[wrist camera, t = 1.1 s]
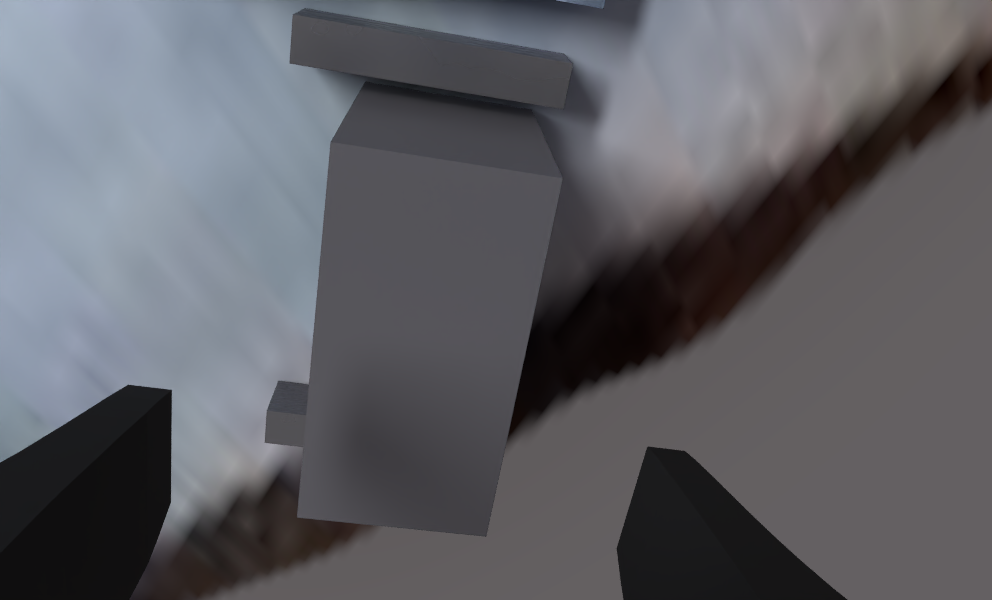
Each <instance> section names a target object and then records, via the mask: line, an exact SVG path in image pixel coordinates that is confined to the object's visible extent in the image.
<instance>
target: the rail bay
mask: <svg viewBox="0 0 992 600" xmlns="http://www.w3.org/2000/svg"><path fill="white" fill-rule="evenodd" d="M290 64H296V65H302V66H308V67H314V68H320V69H326V70H332V71H338V72H344V73H350V74H356V75H362V76H368V77H374V78H380V79H386V80H392V81H398V82H404V83H409V84H415V85H421V86H427V87H433V88H439V89H445V90H451V91H457V92H463V93H469V94H475V95H481V96H487V97H493V98H499V99H505V100H511V101H517V102H523V103H529V104H535V105H541V106H547V107H553V108H559V109H564V105H565V100H566V95H567V90H568V86H569V81H570V76H571V71H572V66H573V63H572V62H571V61H570V60H569V59H568V57H567V56H566V55H565V54H562V53H556V52H550V51H545V50H539V49H533V48H528V47H522V46H516V45H511V44H505V43H499V42H494V41H488V40H482V39H477V38H471V37H465V36H460V35H454V34H448V33H443V32H437V31H431V30H425V29H420V28H414V27H408V26H403V25H397V24H391V23H386V22H380V21H374V20H369V19H363V18H357V17H352V16H346V15H340V14H335V13H329V12H323V11H318V10H312V9H306V8H304V9H303V10H301V11H299V12H297V13H295V14H293V19H292V35H291V50H290ZM308 390H309V385H307V384H299V383H291V382H282V381H278V383H277V386H276V388H275V391H274V394H273V396H272V399H271V401H270V404H269V406H268V409H267V416H266V432H265V443H272V444H281V445H290V446H299V447H303V446H304V435H305V424H306V413H307V402H308Z"/></svg>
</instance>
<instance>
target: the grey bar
mask: <svg viewBox="0 0 992 600" xmlns="http://www.w3.org/2000/svg"><path fill="white" fill-rule="evenodd" d="M562 180H563V178H562V175H561V173H560V171H559V169H558V166H557V164H556V162H555V160H554V158H553V155H552V153H551V151H550V149H549V146H548V144H547V142H546V140H545V138H544V135H543V133H542V131H541V129H540V127H539V124H538V122H537V120H536V118H535V115H534V113H533V111H532V109H526V108H520V107H514V106H508V105H502V104H496V103H490V102H484V101H478V100H472V99H466V98H460V97H454V96H448V95H442V94H436V93H430V92H424V91H418V90H412V89H406V88H400V87H394V86H388V85H382V84H376V83H370V82H365V83H364V85H363V87H362V88H361V90H360V92H359V94H358V95H357V97H356V99H355V101H354V102H353V104H352V106H351V108H350V109H349V111H348V113H347V115H346V116H345V118H344V120H343V121H342V123H341V125H340V127H339V128H338V130H337V132H336V134H335V135H334V137H333V139H332V141H331V144H330V155H329V167H328V178H327V189H326V200H325V211H324V223H323V234H322V245H321V256H320V267H319V279H318V290H317V301H316V312H315V323H314V334H313V346H312V357H311V368H310V379H309V390H308V402H307V413H306V424H305V435H304V446H303V458H302V469H301V480H300V491H299V502H298V513H297V517H299V518H309V519H318V520H328V521H338V522H348V523H358V524H367V525H377V526H387V527H397V528H408V529H417V530H426V531H437V532H446V533H456V534H466V535H476V536H485V537H486V535H487V530H488V525H489V521H490V516H491V512H492V507H493V502H494V497H495V493H496V488H497V484H498V479H499V474H500V470H501V465H502V460H503V456H504V451H505V446H506V442H507V437H508V432H509V428H510V423H511V418H512V414H513V409H514V404H515V400H516V395H517V390H518V386H519V381H520V376H521V372H522V367H523V362H524V358H525V353H526V348H527V344H528V339H529V334H530V330H531V325H532V320H533V316H534V311H535V306H536V302H537V297H538V292H539V288H540V283H541V278H542V274H543V269H544V264H545V260H546V255H547V250H548V246H549V241H550V236H551V232H552V227H553V222H554V218H555V213H556V208H557V204H558V199H559V194H560V190H561V185H562Z"/></svg>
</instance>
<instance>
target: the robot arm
mask: <svg viewBox="0 0 992 600" xmlns="http://www.w3.org/2000/svg"><path fill="white" fill-rule="evenodd" d="M171 416H172V390H168V389H159V388H151V387H142V386H134V385H127V386H126V387H124V388H122V389H120V390H119V391H117V392H115V393H114V394H112V395H110V396H109V397H107V398H106V399H104V400H102V401H101V402H99V403H98V404H96V405H95V406H93V407H91V408H90V409H88V410H87V411H85V412H83V413H82V414H80V415H79V416H77V417H76V418H74V419H72V420H71V421H69V422H68V423H66V424H64V425H63V426H61V427H60V428H58V429H56V430H55V431H53V432H51V433H50V434H48V435H46V436H45V437H43V438H42V439H40V440H38V441H37V442H35V443H33V444H32V445H30V446H28V447H27V448H25V449H24V450H22V451H20V452H18V453H17V454H15V455H13V456H11V457H10V458H8V459H6V460H4V461H2V462H1V463H0V600H129V599H130V597H131V595H132V593H133V591H134V590H135V588H136V586H137V584H138V582H139V580H140V578H141V576H142V574H143V572H144V570H145V568H146V566H147V564H148V562H149V560H150V557H151V554H152V552H153V549H154V547H155V544H156V542H157V539H158V536H159V534H160V531H161V528H162V525H163V523H164V520H165V517H166V514H167V512H168V509H169V506H170V503H171ZM617 554H618V562H619V571H620V579H621V586H622V593H623V598H624V600H847V599H846V598H845V597H843V596H842V595H841V594H840V593H838V592H837V591H836V590H835V589H833V588H832V587H831V586H830V585H829V584H827V583H826V582H825V581H824V580H823V579H822V578H820V577H819V576H818V575H817V574H816V573H815V572H813V571H812V570H811V569H810V568H809V567H808V566H806V565H805V564H804V563H803V562H802V561H801V560H800V559H798V558H797V557H796V556H795V555H794V554H793V553H792V552H791V551H789V550H788V549H787V548H786V547H785V546H784V545H783V544H782V543H781V542H780V541H779V540H777V539H776V538H775V537H774V536H773V535H772V534H771V533H770V532H769V531H768V530H767V529H766V528H765V527H764V526H763V525H761V523H760V522H759V521H757V520H756V519H755V518H754V517H753V516H752V515H751V514H750V513H749V512H748V511H747V510H746V509H745V508H744V507H743V506H742V505H741V504H740V503H739V502H738V501H737V500H736V499H735V498H734V497H733V496H732V495H731V494H730V493H729V492H728V491H727V490H726V489H725V488H724V487H723V486H722V485H721V484H720V483H719V482H718V481H717V480H716V479H715V478H714V477H712V475H711V474H709V473H708V472H707V471H706V470H705V469H704V468H703V467H702V466H701V465H700V464H699V463H698V462H697V461H696V460H695V459H694V458H692V457H691V456H690V455H689V454H688V453H686V452H685V451H679V450H672V449H663V448H655V447H647V450H646V453H645V457H644V460H643V463H642V466H641V470H640V473H639V476H638V480H637V483H636V486H635V490H634V493H633V496H632V500H631V503H630V506H629V510H628V513H627V516H626V519H625V523H624V526H623V529H622V533H621V536H620V540H619V543H618V546H617Z"/></svg>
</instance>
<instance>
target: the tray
mask: <svg viewBox="0 0 992 600" xmlns="http://www.w3.org/2000/svg"><path fill="white" fill-rule="evenodd" d="M558 1H563V2H568V3H574V4H579V5H585V6H590V7H596V8H601V9H604V4H605V0H558Z"/></svg>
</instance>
